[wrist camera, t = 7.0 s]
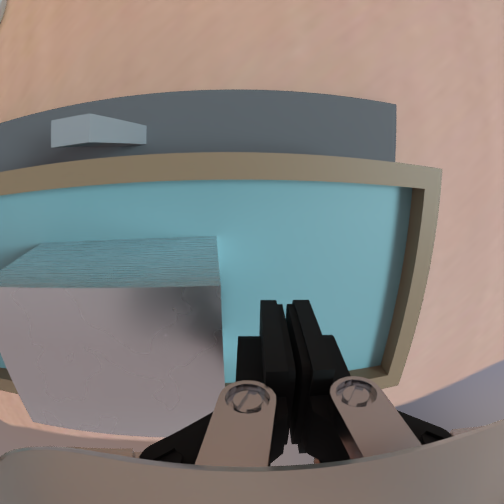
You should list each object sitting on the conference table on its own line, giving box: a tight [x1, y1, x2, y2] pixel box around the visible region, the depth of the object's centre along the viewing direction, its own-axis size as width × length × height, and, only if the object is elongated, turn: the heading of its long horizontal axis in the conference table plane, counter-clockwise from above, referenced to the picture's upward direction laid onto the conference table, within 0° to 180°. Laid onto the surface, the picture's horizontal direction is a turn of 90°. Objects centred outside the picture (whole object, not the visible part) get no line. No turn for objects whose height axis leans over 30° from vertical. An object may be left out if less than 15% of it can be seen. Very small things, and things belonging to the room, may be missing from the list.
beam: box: [0, 152, 442, 394], centre depth 13 cm, size 32×12×3 cm, turn 89°
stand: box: [0, 90, 396, 172], centre depth 17 cm, size 34×20×9 cm, turn 89°
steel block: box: [0, 236, 225, 437], centre depth 11 cm, size 8×6×5 cm
